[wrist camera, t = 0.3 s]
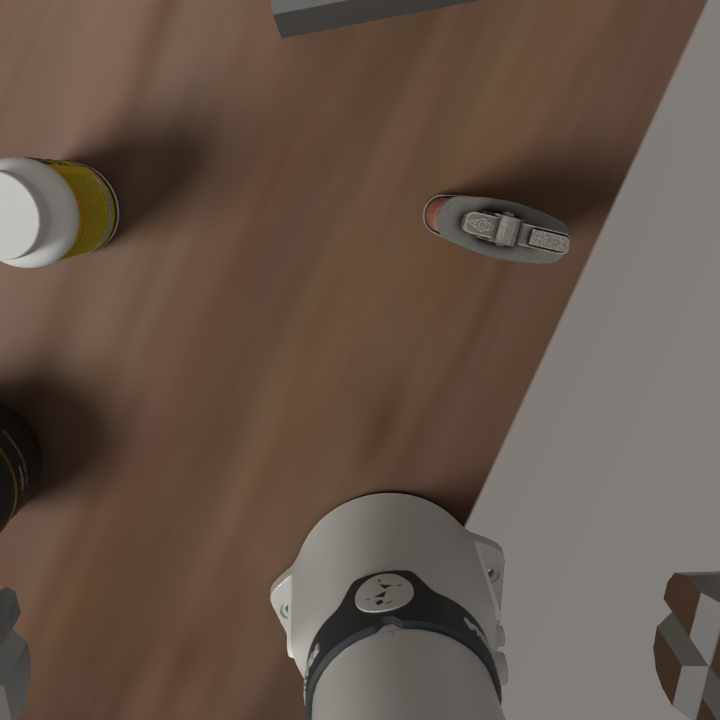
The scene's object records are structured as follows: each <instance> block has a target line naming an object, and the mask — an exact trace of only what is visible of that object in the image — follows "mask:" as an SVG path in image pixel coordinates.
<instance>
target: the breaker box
mask: <svg viewBox="0 0 720 720" xmlns="http://www.w3.org/2000/svg"><path fill="white" fill-rule="evenodd" d="M270 1H271V6H272V11H273V15H274V18H275V21H276V24H277V27H278V29H279V32H280V35H281V38H283V37H288V36H293V35H299V34H304V33H309V32H314V31H319V30H325V29H330V28H335V27H340V26H346V25H351V24H356V23H361V22H366V21H372V20H377V19H382V18H387V17H392V16H398V15H403V14H408V13H413V12H418V11H424V10H429V9H434V8H439V7H444V6H450V5H455V4H460V3H465V2H470V1H476V0H270Z"/></svg>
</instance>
